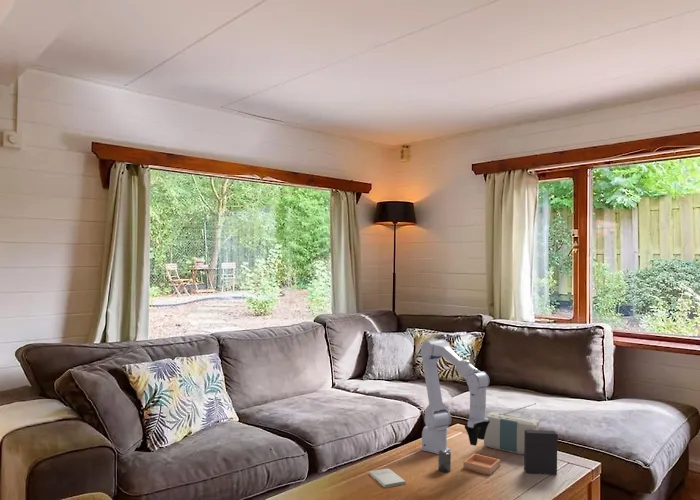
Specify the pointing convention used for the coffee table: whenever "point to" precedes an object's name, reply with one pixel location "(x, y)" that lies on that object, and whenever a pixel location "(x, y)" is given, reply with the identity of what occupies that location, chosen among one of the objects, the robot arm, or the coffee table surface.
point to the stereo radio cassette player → (508, 431)
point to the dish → (482, 464)
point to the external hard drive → (387, 477)
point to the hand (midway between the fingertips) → (477, 442)
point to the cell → (444, 461)
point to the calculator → (540, 452)
